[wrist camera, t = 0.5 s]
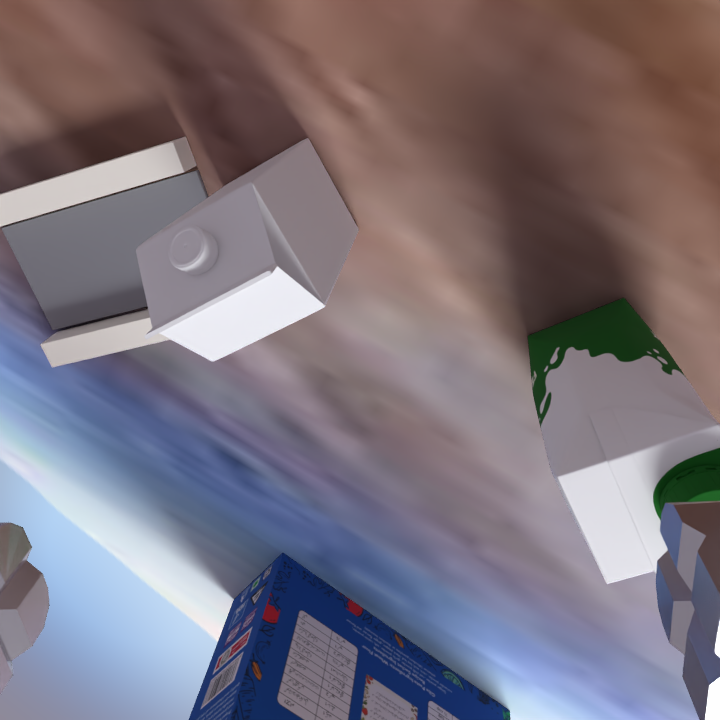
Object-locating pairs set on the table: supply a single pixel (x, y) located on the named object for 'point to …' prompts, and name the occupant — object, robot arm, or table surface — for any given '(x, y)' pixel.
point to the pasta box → (325, 661)
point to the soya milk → (621, 433)
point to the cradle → (98, 245)
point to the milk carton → (248, 256)
